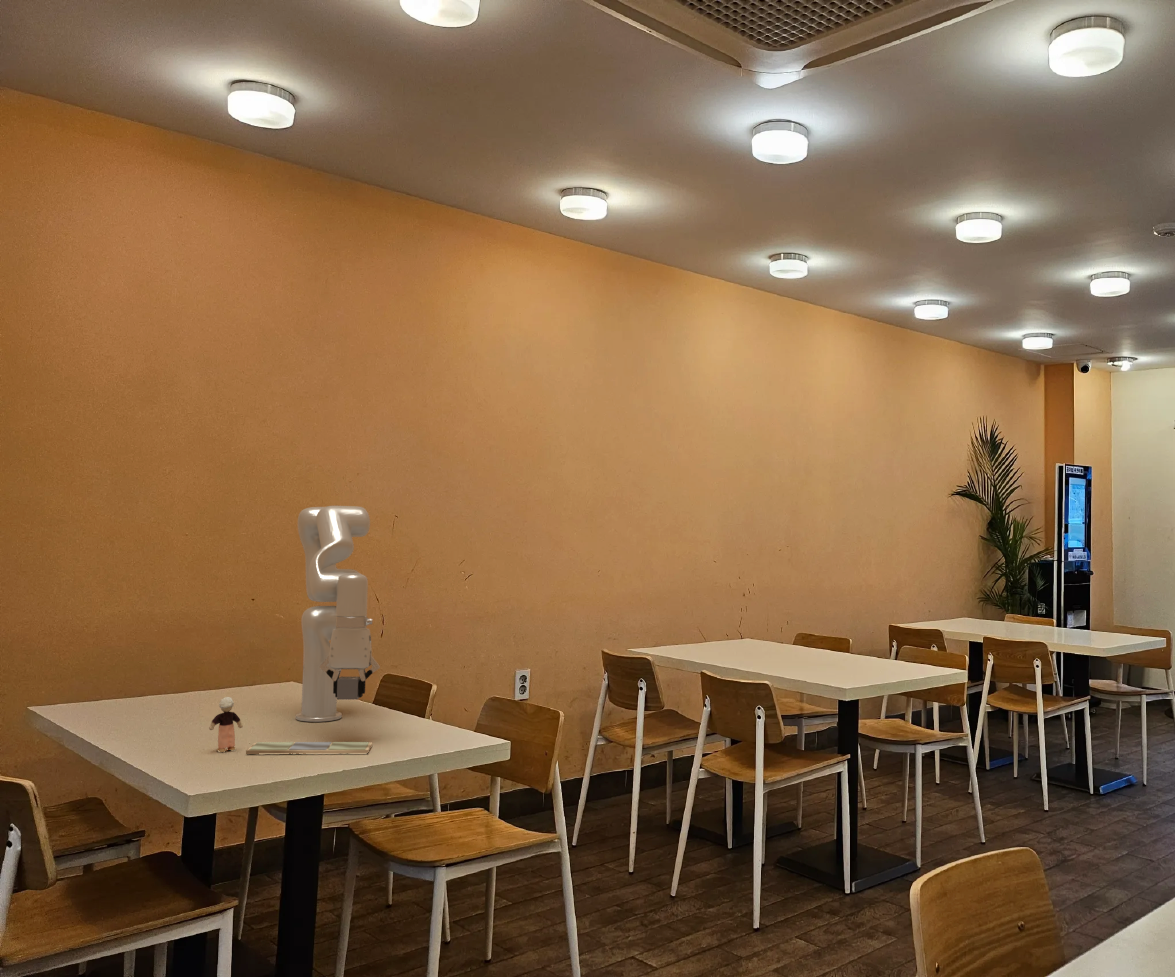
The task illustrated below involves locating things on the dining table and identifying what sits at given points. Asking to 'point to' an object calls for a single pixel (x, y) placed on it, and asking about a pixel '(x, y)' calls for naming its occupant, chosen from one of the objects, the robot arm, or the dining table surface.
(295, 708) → the dining table surface
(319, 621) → the robot arm
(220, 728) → the grandmother figurine
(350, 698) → the die
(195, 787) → the dining table surface
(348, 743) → the board
